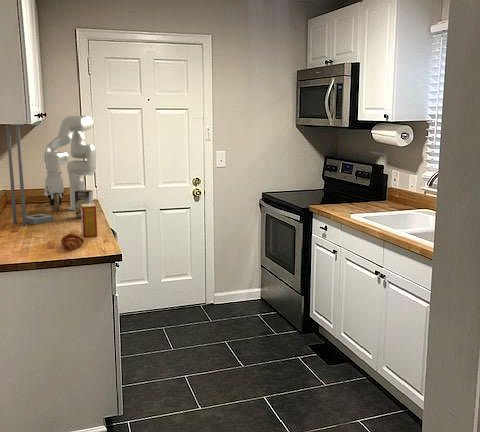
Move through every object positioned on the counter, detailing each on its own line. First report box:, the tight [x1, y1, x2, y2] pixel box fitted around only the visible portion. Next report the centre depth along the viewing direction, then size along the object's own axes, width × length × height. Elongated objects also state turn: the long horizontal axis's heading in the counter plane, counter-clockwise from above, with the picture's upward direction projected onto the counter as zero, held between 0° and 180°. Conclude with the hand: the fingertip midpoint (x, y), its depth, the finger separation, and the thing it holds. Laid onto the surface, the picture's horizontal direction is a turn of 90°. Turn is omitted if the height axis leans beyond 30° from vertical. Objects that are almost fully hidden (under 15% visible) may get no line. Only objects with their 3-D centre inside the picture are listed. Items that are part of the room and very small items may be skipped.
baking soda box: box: [80, 202, 98, 239], centre depth 268 cm, size 10×6×16 cm
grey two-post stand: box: [5, 120, 41, 227], centre depth 295 cm, size 14×12×57 cm
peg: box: [51, 193, 60, 212], centre depth 311 cm, size 4×4×10 cm
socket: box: [26, 213, 54, 225], centre depth 303 cm, size 12×12×3 cm
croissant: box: [60, 232, 85, 251], centre depth 246 cm, size 21×10×8 cm, turn 8°
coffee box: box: [75, 189, 94, 219], centre depth 317 cm, size 9×6×16 cm
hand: (55, 204), depth 311 cm, fingers closed on peg, 4 cm apart
